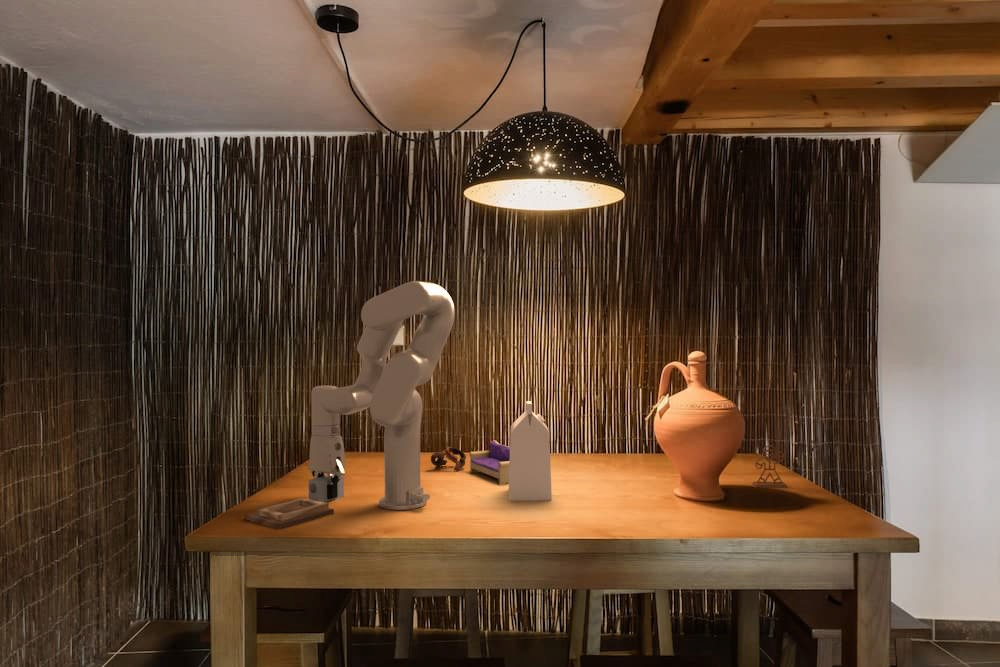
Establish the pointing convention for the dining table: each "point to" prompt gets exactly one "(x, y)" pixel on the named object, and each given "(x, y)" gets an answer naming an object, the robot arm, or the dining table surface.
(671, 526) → the dining table surface
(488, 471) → the toy sofa
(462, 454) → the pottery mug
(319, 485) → the grey rectangular block
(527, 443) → the milk
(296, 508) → the jig
